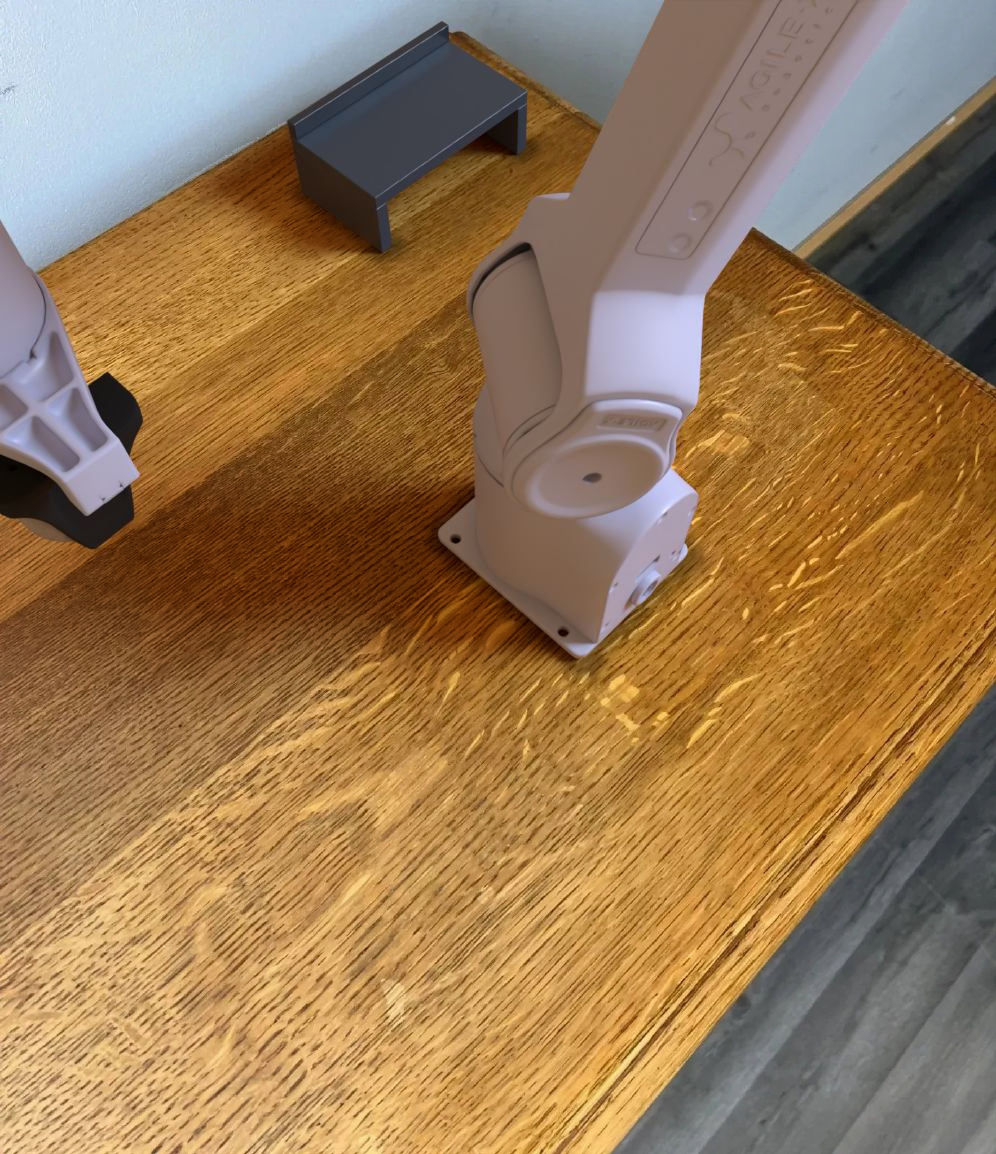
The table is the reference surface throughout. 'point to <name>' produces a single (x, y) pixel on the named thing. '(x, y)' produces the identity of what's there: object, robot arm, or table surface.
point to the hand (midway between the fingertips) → (65, 485)
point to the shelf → (400, 128)
